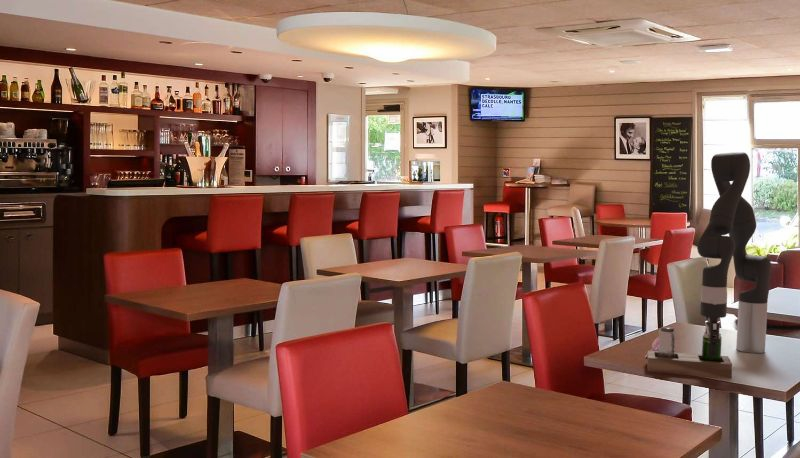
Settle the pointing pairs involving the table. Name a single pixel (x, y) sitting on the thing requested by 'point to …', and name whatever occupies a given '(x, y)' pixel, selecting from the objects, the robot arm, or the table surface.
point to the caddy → (689, 365)
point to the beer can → (706, 349)
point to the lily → (655, 346)
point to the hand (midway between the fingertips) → (711, 353)
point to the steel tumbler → (666, 342)
